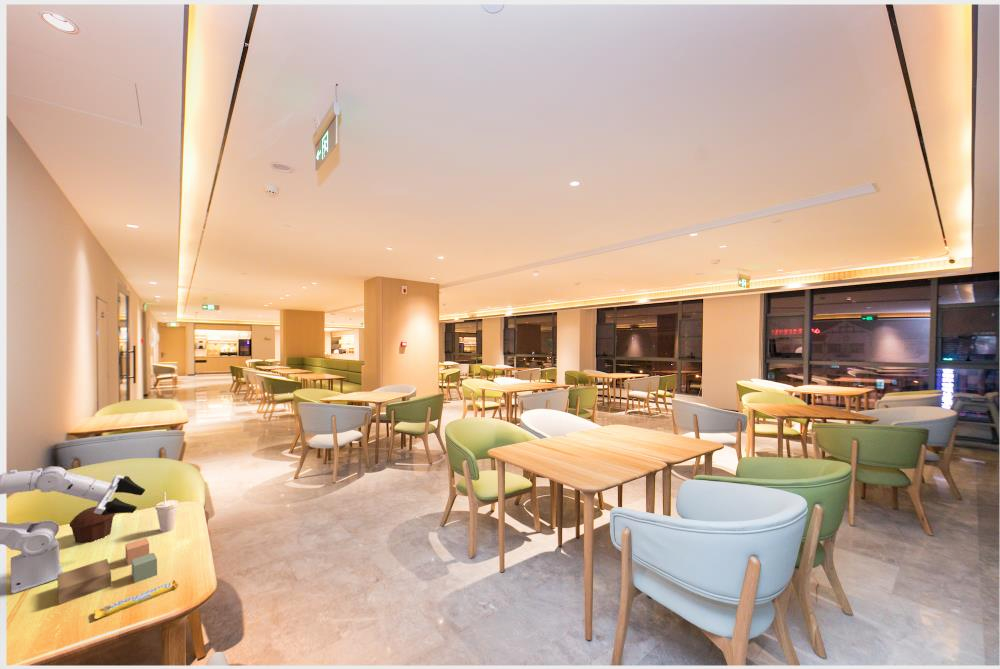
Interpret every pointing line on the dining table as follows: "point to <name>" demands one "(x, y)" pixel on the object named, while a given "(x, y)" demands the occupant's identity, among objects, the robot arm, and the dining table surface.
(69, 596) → the walnut block
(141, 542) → the terracotta cube
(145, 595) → the candy bar
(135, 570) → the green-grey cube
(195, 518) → the dining table surface
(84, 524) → the muffin
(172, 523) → the smoothie
